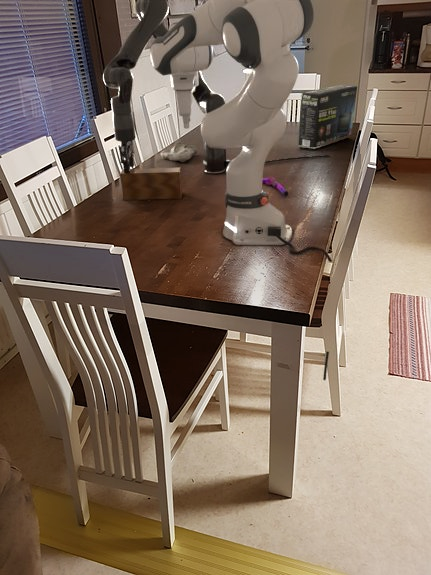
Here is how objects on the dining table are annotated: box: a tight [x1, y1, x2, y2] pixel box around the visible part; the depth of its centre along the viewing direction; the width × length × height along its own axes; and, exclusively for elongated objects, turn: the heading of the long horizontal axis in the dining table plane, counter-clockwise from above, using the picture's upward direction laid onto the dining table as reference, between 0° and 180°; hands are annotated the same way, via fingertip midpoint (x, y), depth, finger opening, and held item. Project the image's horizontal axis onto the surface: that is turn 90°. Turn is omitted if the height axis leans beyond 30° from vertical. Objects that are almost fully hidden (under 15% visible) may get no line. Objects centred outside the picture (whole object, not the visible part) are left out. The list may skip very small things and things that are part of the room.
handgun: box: [262, 176, 289, 197], centre depth 185 cm, size 21×8×2 cm, turn 11°
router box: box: [297, 84, 358, 151], centre depth 238 cm, size 36×11×27 cm, turn 134°
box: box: [119, 167, 183, 201], centre depth 180 cm, size 23×6×11 cm, turn 89°
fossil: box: [160, 142, 199, 163], centre depth 229 cm, size 18×11×15 cm
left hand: (129, 169), depth 177 cm, fingers open, 8 cm apart
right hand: (187, 124), depth 154 cm, fingers open, 8 cm apart
